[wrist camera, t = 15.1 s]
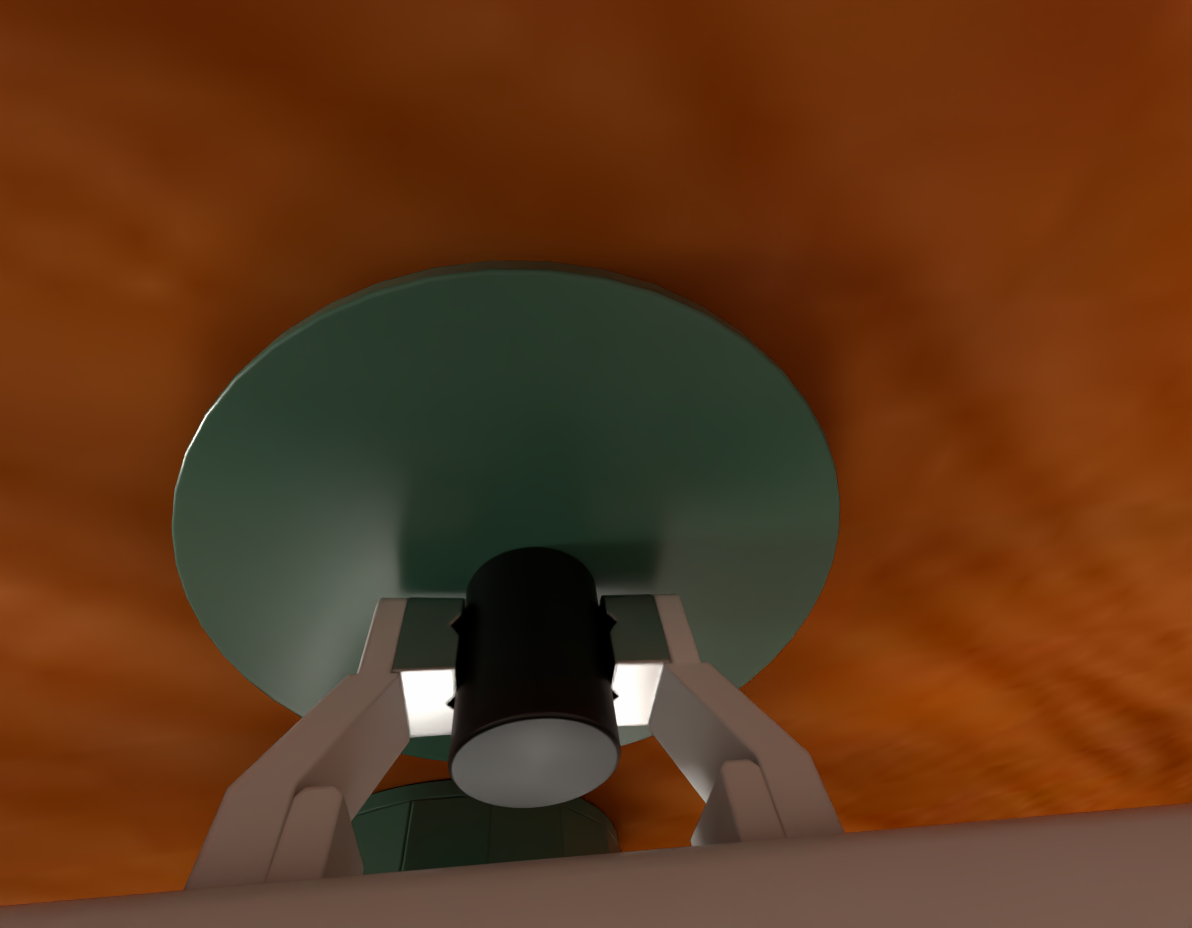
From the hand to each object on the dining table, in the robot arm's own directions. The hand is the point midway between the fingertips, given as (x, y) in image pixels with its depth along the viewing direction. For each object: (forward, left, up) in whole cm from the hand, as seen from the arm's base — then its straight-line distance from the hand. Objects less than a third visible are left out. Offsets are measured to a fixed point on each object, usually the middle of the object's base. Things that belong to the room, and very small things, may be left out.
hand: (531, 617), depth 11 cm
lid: (0, 0, -1) cm, 1 cm away
